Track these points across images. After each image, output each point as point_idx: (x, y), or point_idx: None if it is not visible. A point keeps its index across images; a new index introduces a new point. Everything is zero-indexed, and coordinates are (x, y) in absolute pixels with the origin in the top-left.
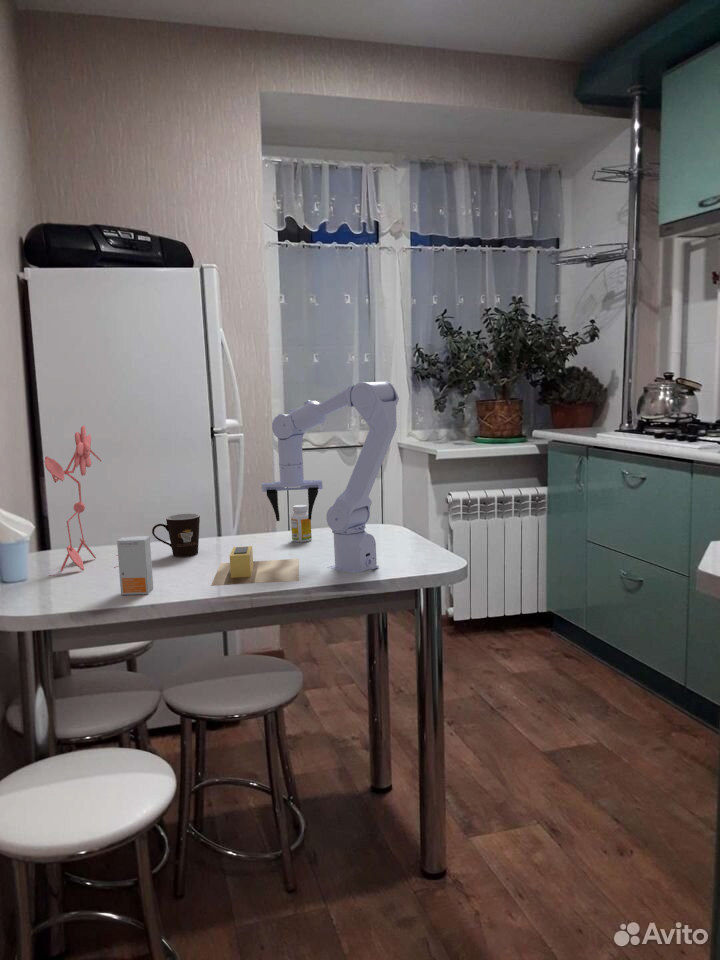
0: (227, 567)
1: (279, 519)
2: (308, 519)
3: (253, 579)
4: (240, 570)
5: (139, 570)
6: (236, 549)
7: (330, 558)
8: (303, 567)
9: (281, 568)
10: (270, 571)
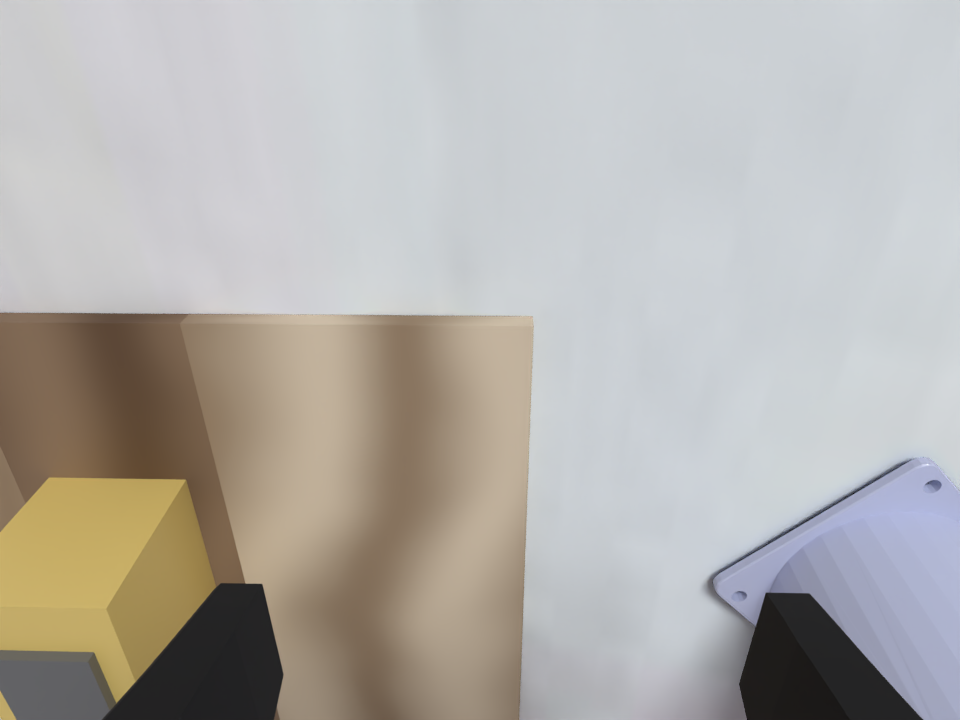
0: None
1: (268, 633)
2: (740, 682)
3: None
4: None
5: None
6: (24, 713)
7: (821, 280)
8: (558, 491)
9: (404, 556)
10: (338, 599)
